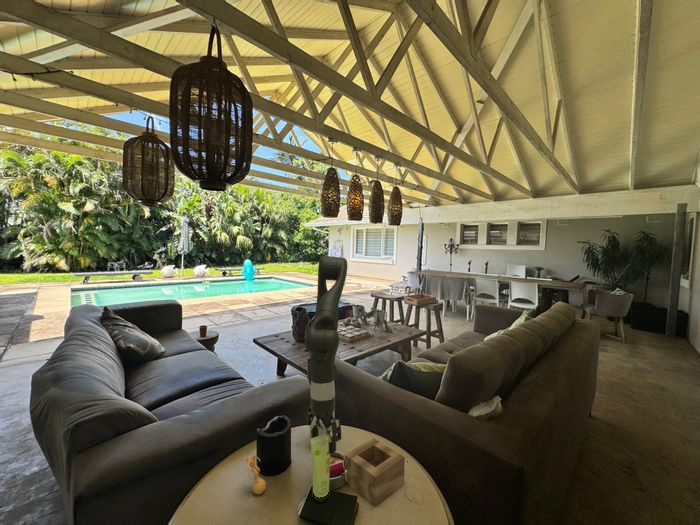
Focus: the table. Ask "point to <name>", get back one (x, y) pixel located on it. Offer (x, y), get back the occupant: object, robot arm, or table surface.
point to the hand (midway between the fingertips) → (323, 446)
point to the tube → (320, 464)
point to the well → (374, 471)
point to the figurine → (259, 483)
